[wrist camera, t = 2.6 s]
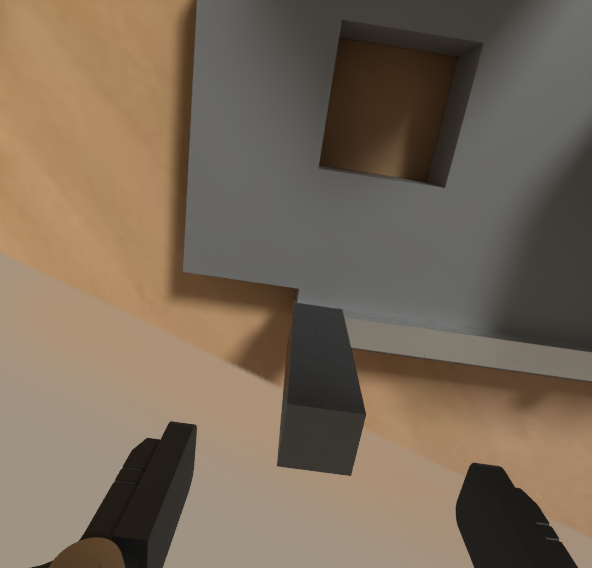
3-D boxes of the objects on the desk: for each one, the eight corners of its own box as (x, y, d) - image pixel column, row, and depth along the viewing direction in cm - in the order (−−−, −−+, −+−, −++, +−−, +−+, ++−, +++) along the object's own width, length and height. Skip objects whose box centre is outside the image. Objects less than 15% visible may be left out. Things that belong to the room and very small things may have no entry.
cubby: (194, 303, 24) (95, 449, 13) (217, -47, 18) (70, -360, 7) (701, 375, 25) (1036, 572, 14) (878, 64, 19) (1723, -47, 8)
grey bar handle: (288, 334, 21) (276, 466, 13) (312, 179, 19) (318, 212, 10) (628, 382, 22) (838, 539, 13) (700, 238, 19) (1023, 317, 11)
